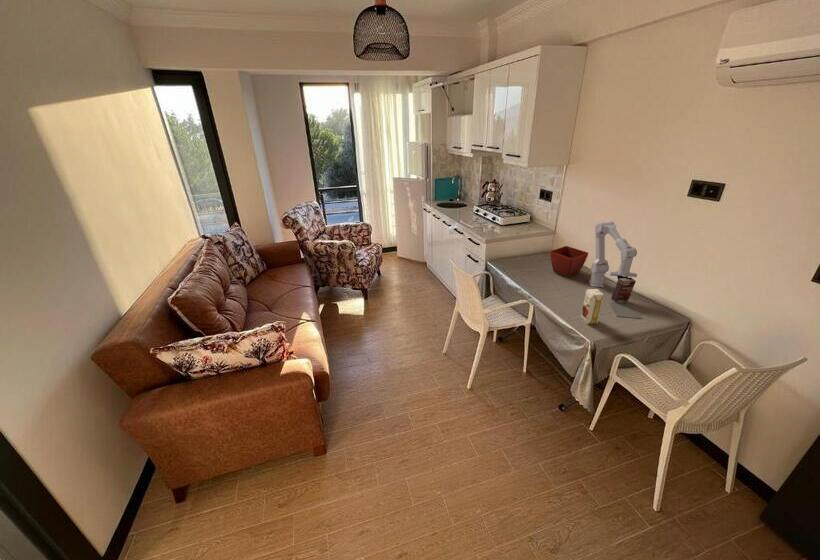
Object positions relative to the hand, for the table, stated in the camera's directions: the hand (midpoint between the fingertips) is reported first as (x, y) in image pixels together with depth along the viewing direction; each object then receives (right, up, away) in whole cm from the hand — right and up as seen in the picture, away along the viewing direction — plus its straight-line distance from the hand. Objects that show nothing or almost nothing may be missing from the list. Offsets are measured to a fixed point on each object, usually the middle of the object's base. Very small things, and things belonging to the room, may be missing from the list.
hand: (620, 286), depth 208 cm
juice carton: (-30, -20, -18) cm, 40 cm away
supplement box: (-1, -9, 0) cm, 9 cm away
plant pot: (-15, +9, +42) cm, 45 cm away
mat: (-4, -14, -10) cm, 18 cm away
